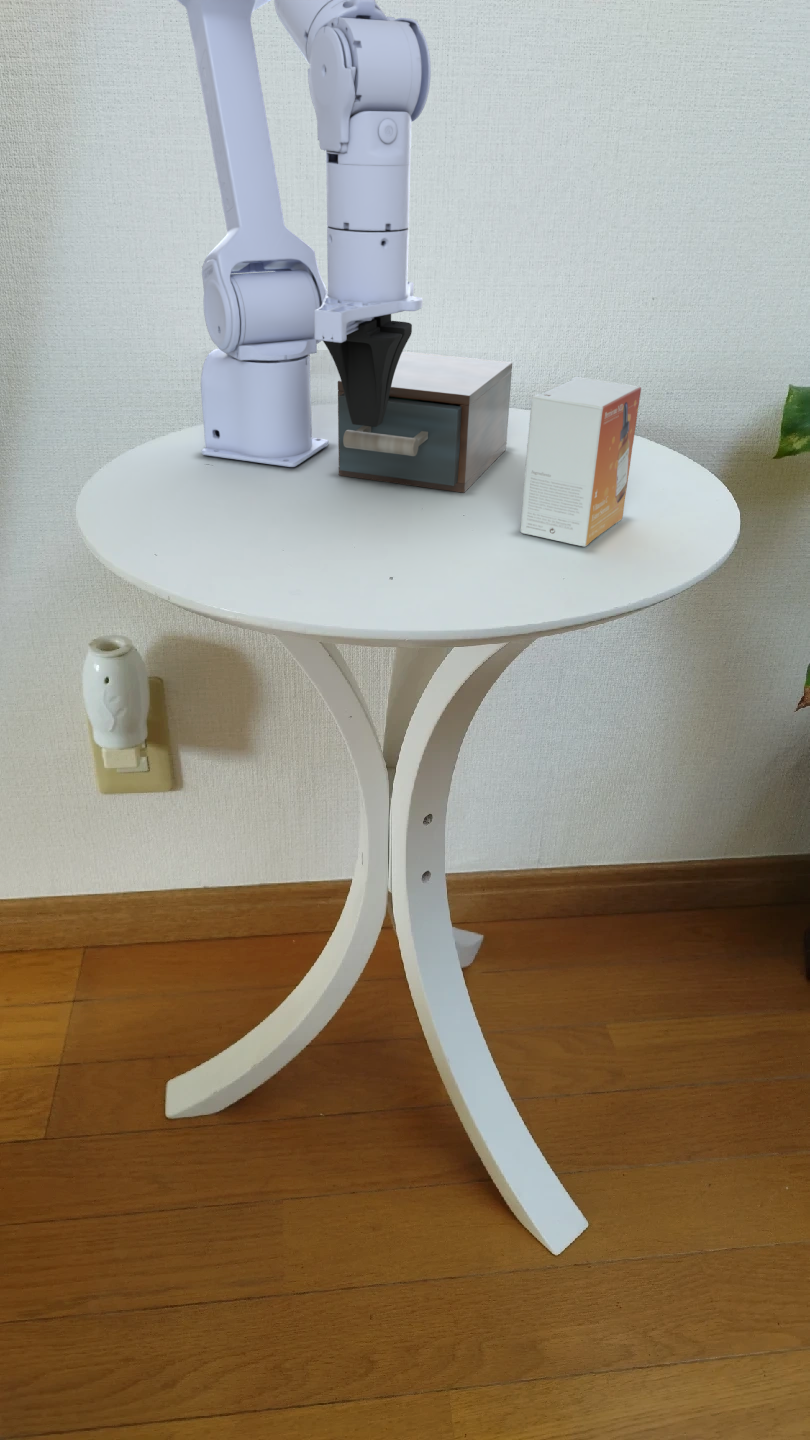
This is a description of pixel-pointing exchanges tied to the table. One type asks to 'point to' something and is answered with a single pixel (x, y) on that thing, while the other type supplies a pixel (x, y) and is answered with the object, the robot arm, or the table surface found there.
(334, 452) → the table surface
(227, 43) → the robot arm
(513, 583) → the table surface
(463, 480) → the cabinet
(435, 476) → the drawer
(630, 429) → the small box
